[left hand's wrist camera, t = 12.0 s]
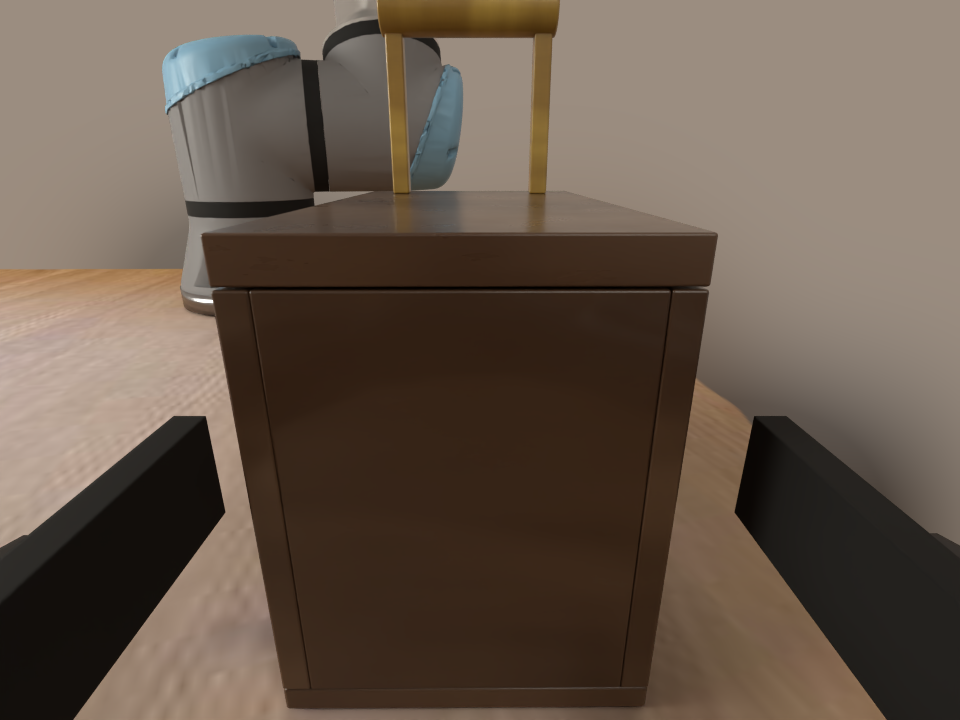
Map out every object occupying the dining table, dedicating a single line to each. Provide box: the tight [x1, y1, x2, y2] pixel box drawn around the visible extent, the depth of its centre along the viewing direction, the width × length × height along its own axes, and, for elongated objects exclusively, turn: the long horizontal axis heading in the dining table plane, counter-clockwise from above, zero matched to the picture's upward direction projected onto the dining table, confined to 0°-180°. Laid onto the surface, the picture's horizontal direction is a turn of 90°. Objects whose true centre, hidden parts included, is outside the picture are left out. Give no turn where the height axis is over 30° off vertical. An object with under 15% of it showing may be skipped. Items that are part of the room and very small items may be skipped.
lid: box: [201, 0, 718, 287], centre depth 16 cm, size 17×9×9 cm, turn 0°
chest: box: [211, 287, 709, 708], centre depth 19 cm, size 16×9×11 cm, turn 0°
